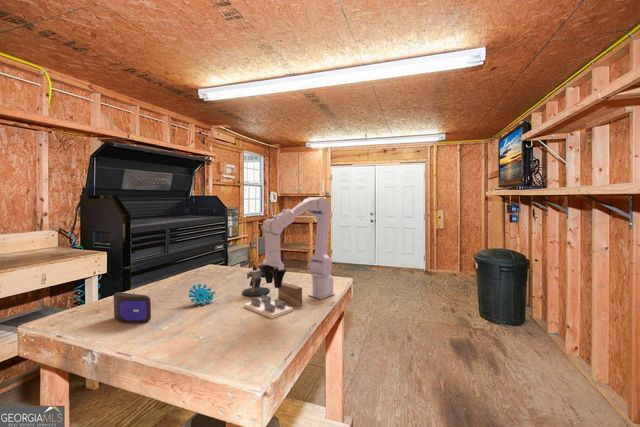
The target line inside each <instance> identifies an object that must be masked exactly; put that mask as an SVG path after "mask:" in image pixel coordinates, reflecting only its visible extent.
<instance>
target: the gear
mask: <svg viewBox="0 0 640 427" xmlns="http://www.w3.org/2000/svg"><path fill="white" fill-rule="evenodd" d="M197 287H198V288H197ZM188 292H189V294H188V298H191V299H190V301H191V303H194V302H195V305H196V306H199V305H200V303H201V302H202V303H201V306H203V307H204V306H206V304H207V305H208V304H210V303H211V301H212V300H214V295H215V294H216V293H217V291H216V290H213V291H212V288H211V287H208V285H207V284H203V287H202V284H201V283H198V284H197V285H195V284H194V285H192V288H190V289H189V291H188Z"/></svg>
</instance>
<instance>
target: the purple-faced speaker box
mask: <svg viewBox="0 0 640 427" xmlns="http://www.w3.org/2000/svg"><path fill="white" fill-rule="evenodd" d="M151 304H152V303H151V297H150V296H149V295H147V294H137V293H128V292H120V291H119V292H115V293H114V294H113V317H114V318H113V319H115V320H116V321H118V322H119V323H124V324H125V323H126V324H144V322H145V323H148V322H149V321H151V319H152V308H151Z"/></svg>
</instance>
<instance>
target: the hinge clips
mask: <svg viewBox="0 0 640 427" xmlns="http://www.w3.org/2000/svg"><path fill="white" fill-rule="evenodd" d="M259 299H261V301H263V302H266V303H264V309H265V310H268V311H270V312H275V306H277V307H279V308H282V309H284V308H285V305H286V302H284V301H281V300H279V299H278V298H275V299H274V302H275V305H272V304H270V303H271V299H272V296H269V295H264V294H263V295H261V298H257V297H250V302H251V304H253V305H255V306H258V307H259V306H260V300H259Z"/></svg>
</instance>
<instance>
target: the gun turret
mask: <svg viewBox="0 0 640 427" xmlns="http://www.w3.org/2000/svg"><path fill="white" fill-rule="evenodd" d="M261 266H262V265H259V266H258V268H257V266H256V265H253V266H252V270H251V271H249V272H247V274H246V275H247V276H246V278H247V280H249V279H250V278H251V279H250V282H249V286H250V287H248V288H245V289H243V291H241V292H242V293H241V294H242V295H243V296H244V297H249V298H252V297H254V298H259V297H261V295H263V294H264V295H266V296H269V294H270V293H271V289H270V288H269V287H263V286H261V282H262V279H263V278H264V279H265V275H264V272H263V270H262V268H261ZM274 269H276V268H274Z"/></svg>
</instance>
